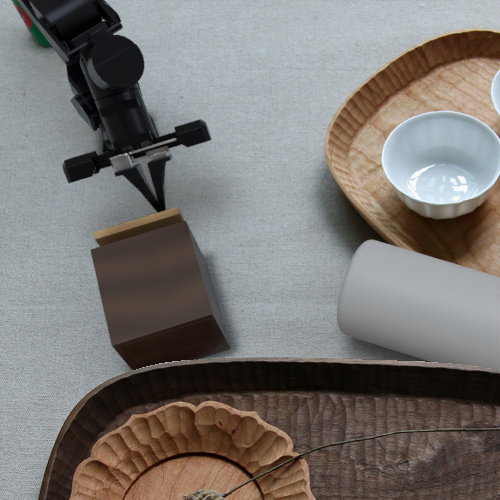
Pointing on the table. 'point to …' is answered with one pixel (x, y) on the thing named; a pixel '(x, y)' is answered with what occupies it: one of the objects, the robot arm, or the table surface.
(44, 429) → the table surface
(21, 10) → the soda can
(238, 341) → the table surface
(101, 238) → the drawer
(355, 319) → the cylinder vase
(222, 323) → the cabinet
